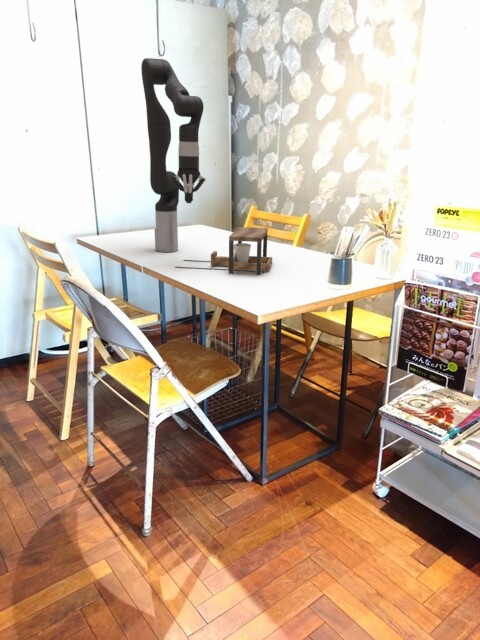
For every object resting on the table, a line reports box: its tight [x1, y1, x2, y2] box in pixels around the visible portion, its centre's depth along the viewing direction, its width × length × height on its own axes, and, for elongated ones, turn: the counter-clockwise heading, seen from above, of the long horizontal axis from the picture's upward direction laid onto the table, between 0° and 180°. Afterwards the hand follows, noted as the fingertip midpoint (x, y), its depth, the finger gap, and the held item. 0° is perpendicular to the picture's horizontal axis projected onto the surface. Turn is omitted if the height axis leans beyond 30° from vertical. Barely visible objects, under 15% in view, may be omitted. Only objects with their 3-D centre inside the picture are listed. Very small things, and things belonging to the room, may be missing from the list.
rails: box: [174, 259, 266, 273], centre depth 192 cm, size 34×13×1 cm, turn 81°
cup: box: [233, 242, 252, 263], centre depth 192 cm, size 7×10×8 cm
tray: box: [210, 250, 273, 272], centre depth 191 cm, size 22×13×4 cm, turn 81°
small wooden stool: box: [228, 226, 269, 276], centre depth 189 cm, size 12×22×14 cm, turn 171°
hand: (188, 202), depth 189 cm, fingers closed
